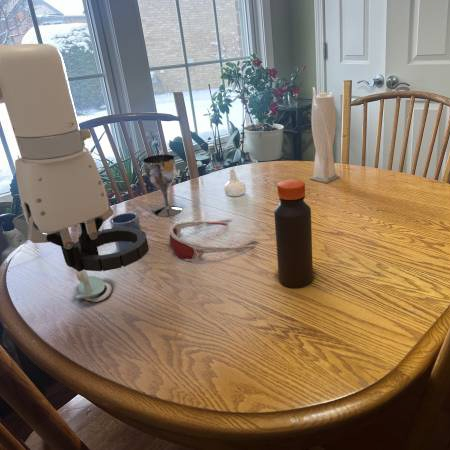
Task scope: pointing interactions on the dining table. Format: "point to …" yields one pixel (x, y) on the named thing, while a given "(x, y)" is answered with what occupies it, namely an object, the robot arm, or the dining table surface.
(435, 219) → the dining table surface
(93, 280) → the pacifier
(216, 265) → the dining table surface
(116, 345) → the dining table surface
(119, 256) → the ring
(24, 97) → the robot arm
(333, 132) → the skyscraper
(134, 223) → the cup
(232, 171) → the garlic bulb
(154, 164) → the wine glass
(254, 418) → the dining table surface
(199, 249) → the sunglasses
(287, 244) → the bottle
